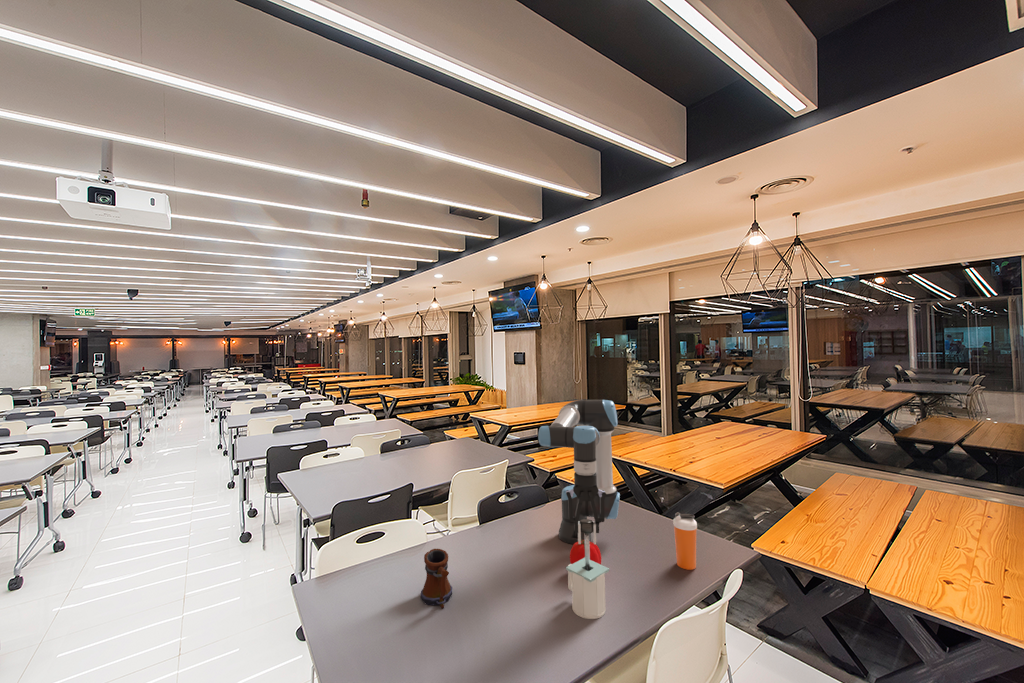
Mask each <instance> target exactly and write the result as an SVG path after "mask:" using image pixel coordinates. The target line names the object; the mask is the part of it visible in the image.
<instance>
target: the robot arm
mask: <svg viewBox="0 0 1024 683" xmlns="http://www.w3.org/2000/svg"><path fill="white" fill-rule="evenodd" d="M618 422H619V421H618V413H617V409H616V405H615V403H614V401H613V400H608V399H577V400H574V401H570V402H568V403H567V404H564V406H562V407H561V409H559V411H558V416H557V417H556V418H555V420H553V422H552V423H551V425H542V426H540V427H539V429H538V434H537V435H538V437H537V439H538V444H539V445H540V446H541V447H548V448H573V471H574V476H573V477H574V478H573V479H574V480H573V481H574V484H571V485H567V486H565V487H564V488H562V490H561V498H560V499H561V522H560V526H559V530H558V538H559V540H560V541H562V542H563V543H566V544H570V545H574V544H575V543H576V542H578V543H579V544H581V540H585V536H584V533H582V532H581V524H580V520H582V519H588V518H589V517H590V518H593V519H594V521H593V520H592V521H593V532H592V533H589V541H590V542H591V540H592V541H593V542H592V543H594V544H596V545H597V534H600V524H601V523H604V522H605V519H606V520H610V519H611V520H615V519H617V518H618V516H619V515H618V514H619V508H620V507H619V506H620V498H621V497H620V496H621V494H620V492H618V491H617V486H615V485H614V479H613V453H612V452H613V447H612V433H613V432H615V427H618Z"/></svg>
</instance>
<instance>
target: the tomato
mask: <svg viewBox="0 0 1024 683" xmlns="http://www.w3.org/2000/svg"><path fill="white" fill-rule="evenodd" d="M589 544H590V560H592V561H594V562H596V563H598V564H601V565H602V554H601V550H600V548H599V546H598V545H597V543H596V544H594V542H592V541H591V540H590V541H589ZM583 558H585V540H581V544H579V543H578V542H576V543H575V544H572V546H571V549H570V551H569V562H570V563H569V564H573V563H575V562H577V561H579V560H581V559H583Z"/></svg>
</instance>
